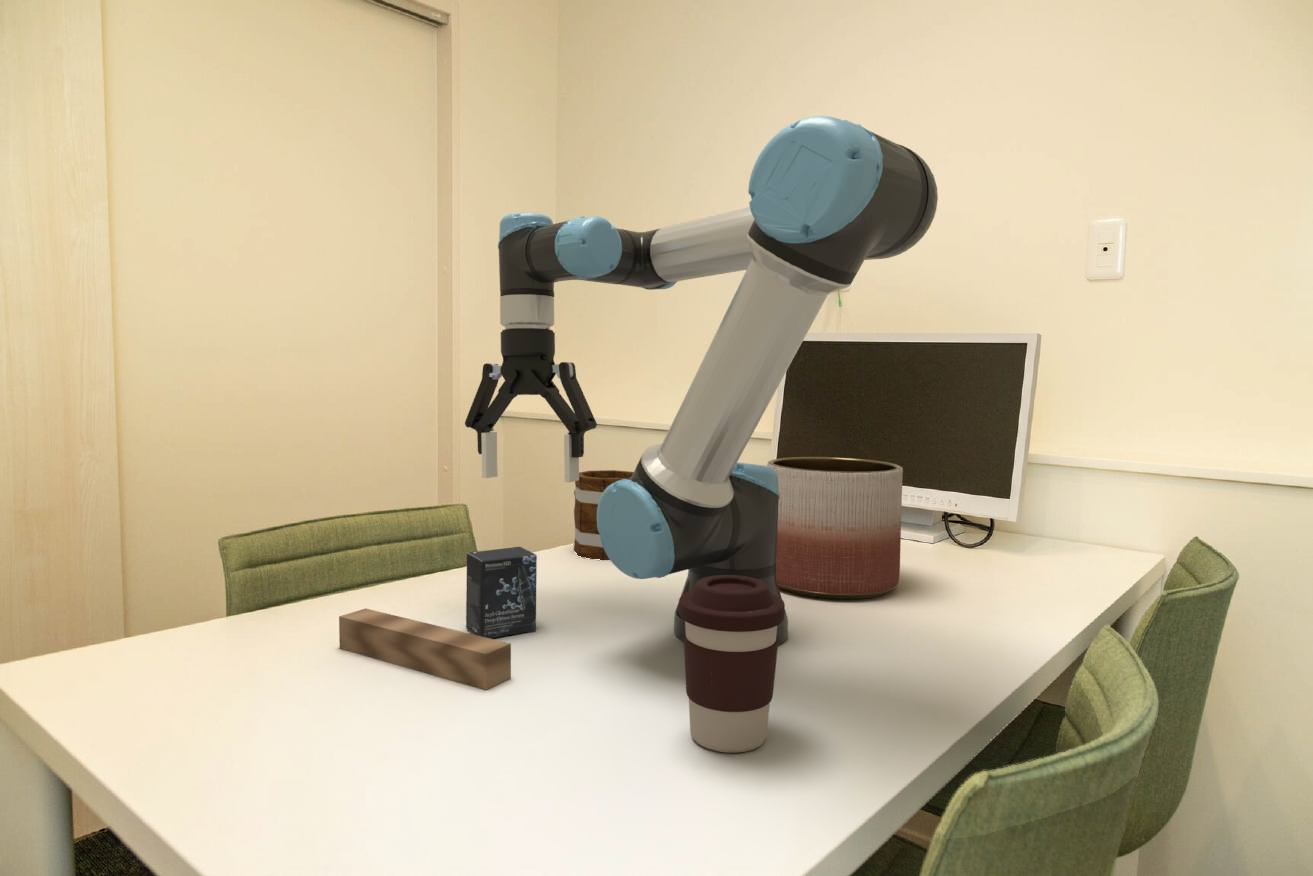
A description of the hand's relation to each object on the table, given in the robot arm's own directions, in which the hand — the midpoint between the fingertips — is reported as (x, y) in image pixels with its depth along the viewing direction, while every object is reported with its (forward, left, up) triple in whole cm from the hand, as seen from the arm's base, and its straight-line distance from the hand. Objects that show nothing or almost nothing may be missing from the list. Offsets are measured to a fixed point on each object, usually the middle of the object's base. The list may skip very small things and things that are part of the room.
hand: (530, 479), depth 114 cm
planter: (-31, -39, -19) cm, 54 cm away
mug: (+9, -36, -19) cm, 42 cm away
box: (-2, +9, -19) cm, 21 cm away
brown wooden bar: (-2, +23, -19) cm, 30 cm away
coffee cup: (-41, +21, -19) cm, 50 cm away
